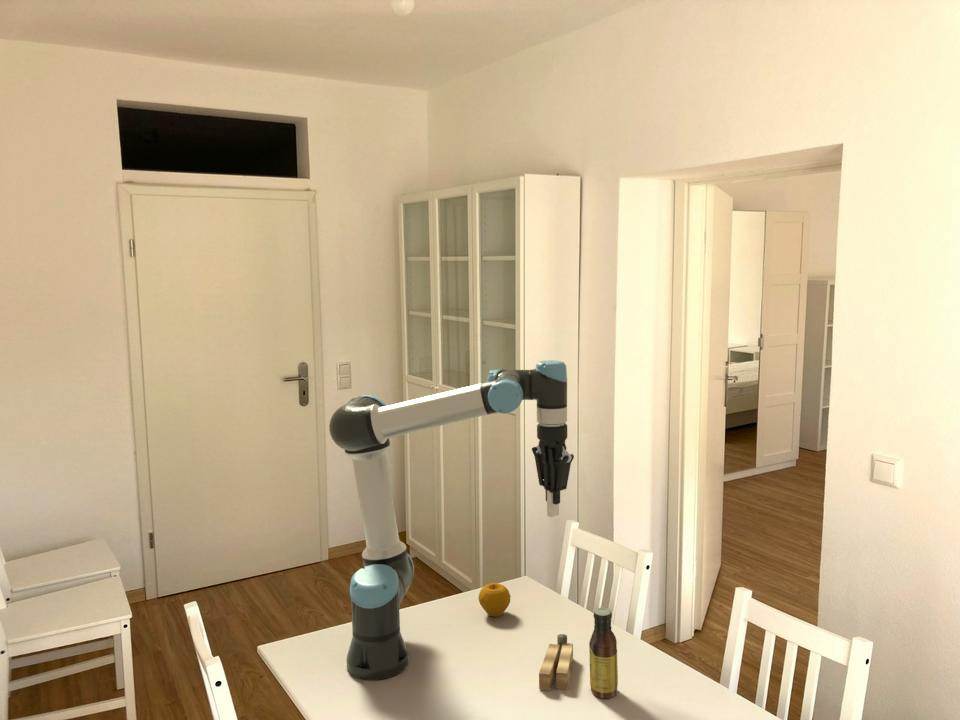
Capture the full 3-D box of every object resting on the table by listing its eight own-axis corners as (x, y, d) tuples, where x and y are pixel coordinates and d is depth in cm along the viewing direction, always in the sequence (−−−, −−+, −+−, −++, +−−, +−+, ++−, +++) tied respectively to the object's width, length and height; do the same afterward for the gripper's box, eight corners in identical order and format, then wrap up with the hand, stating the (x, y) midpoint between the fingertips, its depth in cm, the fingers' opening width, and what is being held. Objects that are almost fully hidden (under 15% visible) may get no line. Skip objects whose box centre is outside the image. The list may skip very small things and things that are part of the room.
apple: (477, 608, 221) (477, 578, 220) (509, 606, 222) (508, 576, 221) (479, 622, 213) (479, 591, 211) (512, 621, 213) (511, 590, 212)
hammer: (558, 653, 195) (557, 633, 195) (573, 654, 195) (573, 634, 194) (550, 688, 180) (550, 667, 179) (567, 689, 179) (567, 668, 178)
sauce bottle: (599, 681, 182) (598, 601, 179) (622, 690, 178) (622, 608, 175) (584, 694, 177) (583, 611, 174) (608, 703, 173) (608, 619, 170)
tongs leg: (549, 658, 192) (549, 643, 192) (559, 660, 192) (559, 644, 191) (539, 689, 179) (538, 673, 178) (549, 690, 178) (549, 674, 178)
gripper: (581, 425, 189) (582, 518, 192) (545, 417, 200) (546, 506, 203) (559, 429, 185) (560, 525, 188) (523, 421, 195) (524, 512, 198)
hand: (553, 515), depth 195 cm, fingers closed
